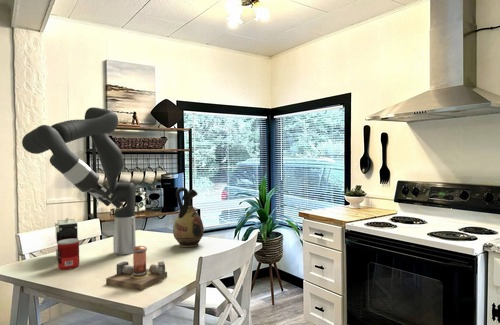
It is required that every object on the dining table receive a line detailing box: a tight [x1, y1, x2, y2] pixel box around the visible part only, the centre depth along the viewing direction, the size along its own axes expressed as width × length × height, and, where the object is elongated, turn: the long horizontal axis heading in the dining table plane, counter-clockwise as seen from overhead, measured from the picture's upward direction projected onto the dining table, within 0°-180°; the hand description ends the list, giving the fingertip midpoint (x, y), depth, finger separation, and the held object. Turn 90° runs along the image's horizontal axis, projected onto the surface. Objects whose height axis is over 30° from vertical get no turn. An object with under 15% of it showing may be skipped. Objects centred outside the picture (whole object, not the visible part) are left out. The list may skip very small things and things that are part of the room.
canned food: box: [56, 239, 80, 271], centre depth 144 cm, size 8×8×11 cm
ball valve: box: [54, 217, 79, 258], centre depth 159 cm, size 18×8×18 cm, turn 31°
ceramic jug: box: [172, 186, 205, 248], centre depth 176 cm, size 17×15×30 cm
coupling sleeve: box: [132, 245, 148, 277], centre depth 127 cm, size 5×5×10 cm
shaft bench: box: [105, 260, 168, 291], centre depth 127 cm, size 17×14×6 cm
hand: (114, 205), depth 125 cm, fingers open, 8 cm apart
